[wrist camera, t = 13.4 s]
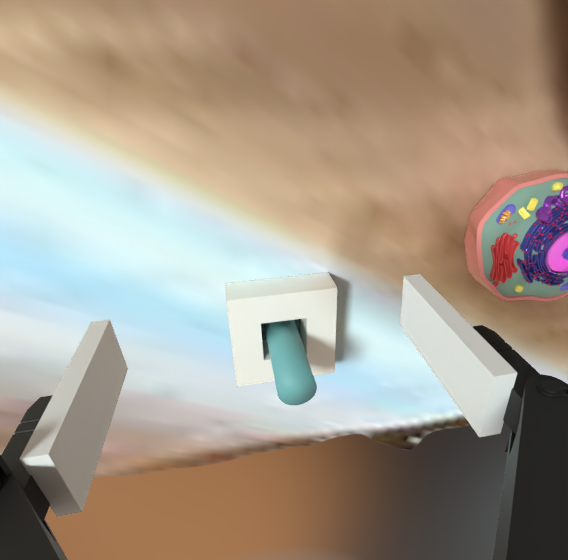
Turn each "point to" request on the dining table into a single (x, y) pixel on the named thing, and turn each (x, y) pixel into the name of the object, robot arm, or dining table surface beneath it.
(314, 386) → the peg
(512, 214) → the cell model
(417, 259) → the dining table surface
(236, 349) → the socket block
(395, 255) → the dining table surface
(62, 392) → the robot arm
